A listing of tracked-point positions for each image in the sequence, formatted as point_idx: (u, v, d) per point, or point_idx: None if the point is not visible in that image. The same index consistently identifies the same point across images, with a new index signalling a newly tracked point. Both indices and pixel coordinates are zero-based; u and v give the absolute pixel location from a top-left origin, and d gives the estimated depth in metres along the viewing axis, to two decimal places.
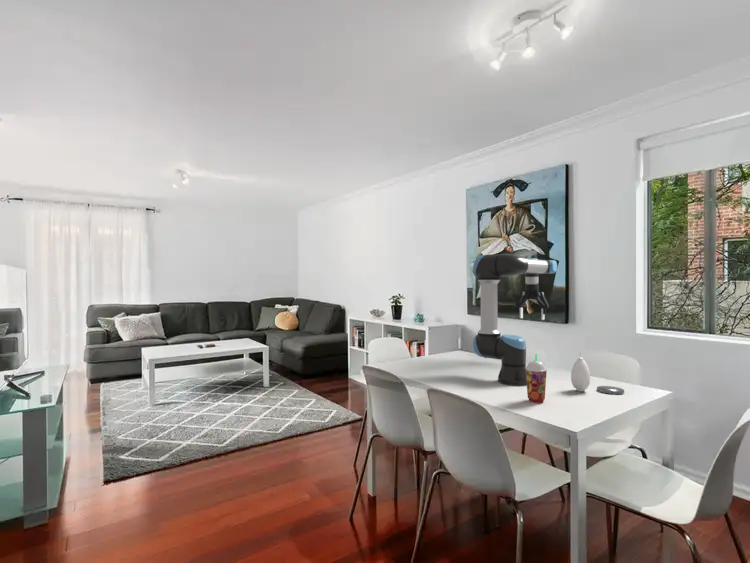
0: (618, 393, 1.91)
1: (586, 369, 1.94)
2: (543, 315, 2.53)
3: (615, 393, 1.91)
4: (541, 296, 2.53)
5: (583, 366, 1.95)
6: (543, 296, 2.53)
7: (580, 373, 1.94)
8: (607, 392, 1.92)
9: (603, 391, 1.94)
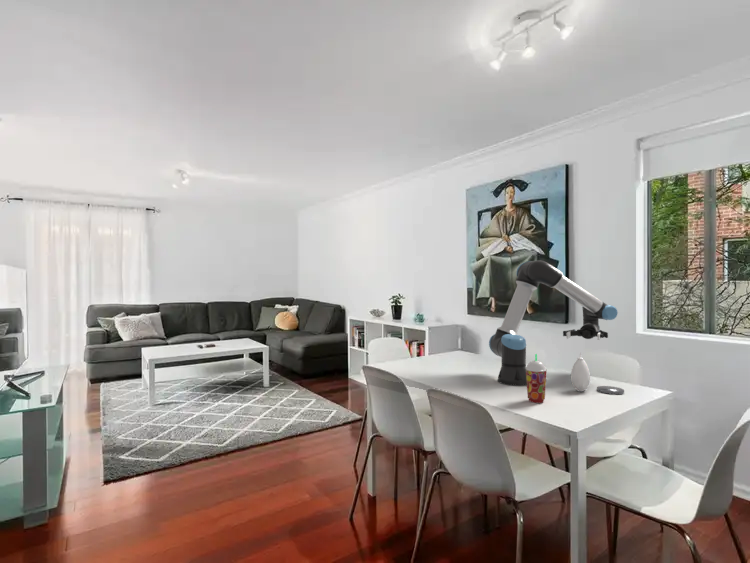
0: (618, 393, 1.91)
1: (586, 369, 1.94)
2: (599, 335, 2.05)
3: (615, 393, 1.91)
4: (600, 330, 2.15)
5: (583, 366, 1.95)
6: None
7: (580, 373, 1.94)
8: (607, 392, 1.92)
9: (603, 391, 1.94)
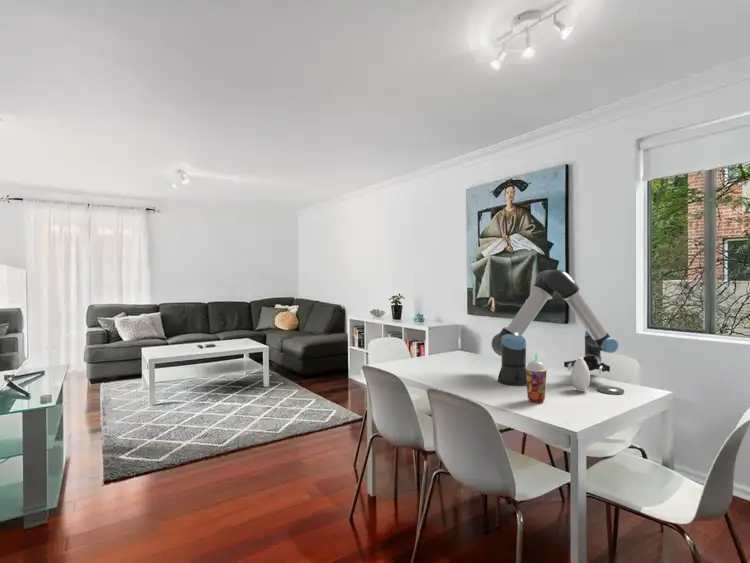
0: (618, 393, 1.91)
1: (586, 369, 1.94)
2: (601, 369, 2.01)
3: (615, 393, 1.91)
4: (602, 363, 2.11)
5: (583, 366, 1.95)
6: None
7: (580, 373, 1.94)
8: (607, 392, 1.92)
9: (603, 391, 1.94)
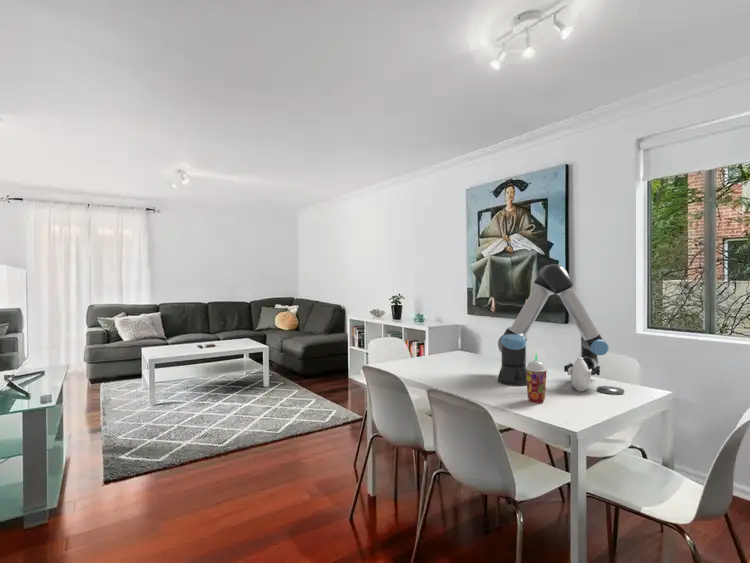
0: (618, 393, 1.91)
1: (586, 369, 1.94)
2: (590, 373, 1.93)
3: (615, 393, 1.91)
4: (597, 367, 2.02)
5: (582, 366, 1.95)
6: (598, 369, 2.01)
7: (580, 373, 1.94)
8: (607, 392, 1.92)
9: (603, 391, 1.94)
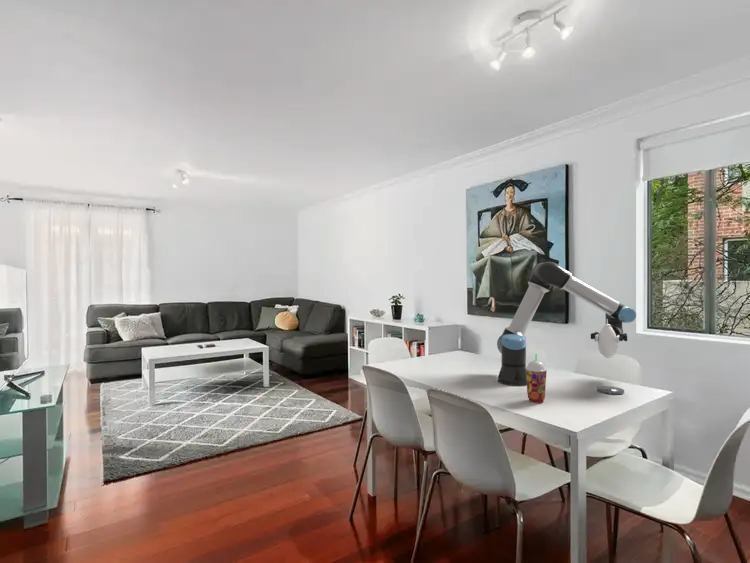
0: (618, 393, 1.91)
1: (613, 335, 1.94)
2: (618, 338, 1.92)
3: (615, 393, 1.91)
4: None
5: (610, 332, 1.94)
6: None
7: (607, 338, 1.93)
8: (607, 392, 1.92)
9: (603, 391, 1.94)
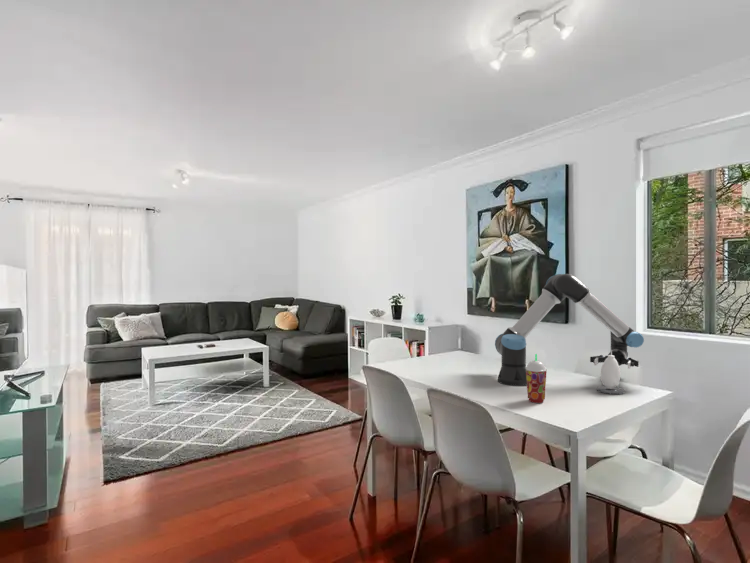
0: (618, 393, 1.91)
1: (617, 367, 1.94)
2: (630, 364, 1.95)
3: (615, 393, 1.91)
4: (630, 358, 2.05)
5: (614, 363, 1.94)
6: None
7: (610, 370, 1.93)
8: (607, 392, 1.92)
9: (603, 391, 1.94)
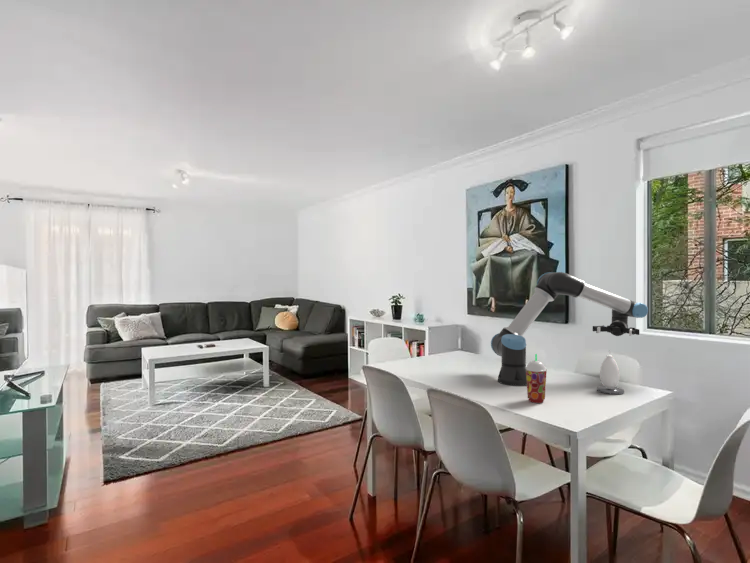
0: (618, 393, 1.91)
1: (616, 367, 1.94)
2: (631, 332, 2.03)
3: (615, 393, 1.91)
4: (631, 328, 2.13)
5: (612, 363, 1.94)
6: None
7: (609, 370, 1.93)
8: (607, 392, 1.92)
9: (603, 391, 1.94)
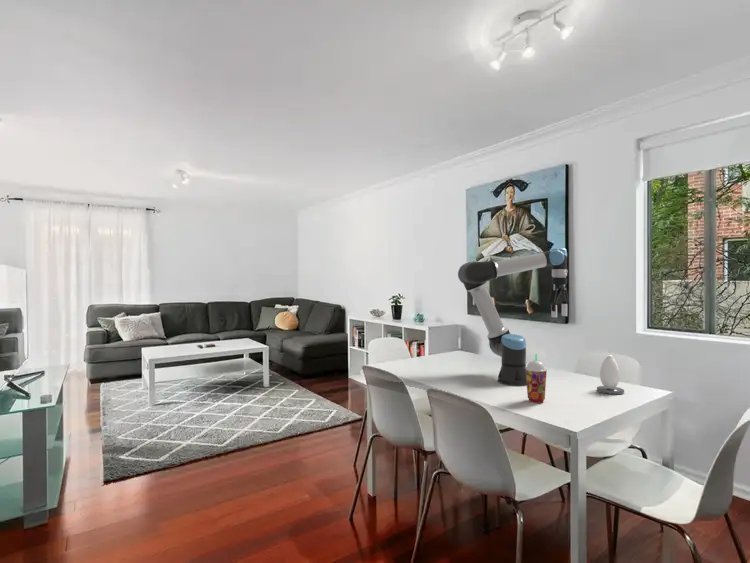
0: (618, 393, 1.91)
1: (616, 367, 1.94)
2: (553, 312, 2.25)
3: (615, 393, 1.91)
4: (552, 291, 2.26)
5: (612, 363, 1.94)
6: (553, 291, 2.25)
7: (610, 370, 1.94)
8: (607, 392, 1.92)
9: (603, 391, 1.94)
